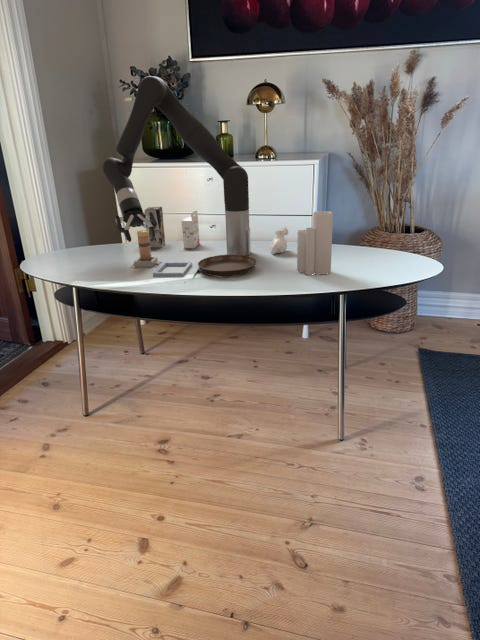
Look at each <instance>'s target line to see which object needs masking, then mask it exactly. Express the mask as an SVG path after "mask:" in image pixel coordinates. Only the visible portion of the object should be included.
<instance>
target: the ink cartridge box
mask: <svg viewBox="0 0 480 640" xmlns="http://www.w3.org/2000/svg"><path fill="white" fill-rule="evenodd" d="M180 222H181V231H182V240H183V242H182V243H183V249H195V248H196V247H198V246H199V245H200V244H201V243H200V242H201V241H200V229H199V227H200V226H199V216H198V211H197V209H196V210H194V211H193V212H191V213H190V217H186V218H184V219H182V220H181V221H180Z"/></svg>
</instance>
